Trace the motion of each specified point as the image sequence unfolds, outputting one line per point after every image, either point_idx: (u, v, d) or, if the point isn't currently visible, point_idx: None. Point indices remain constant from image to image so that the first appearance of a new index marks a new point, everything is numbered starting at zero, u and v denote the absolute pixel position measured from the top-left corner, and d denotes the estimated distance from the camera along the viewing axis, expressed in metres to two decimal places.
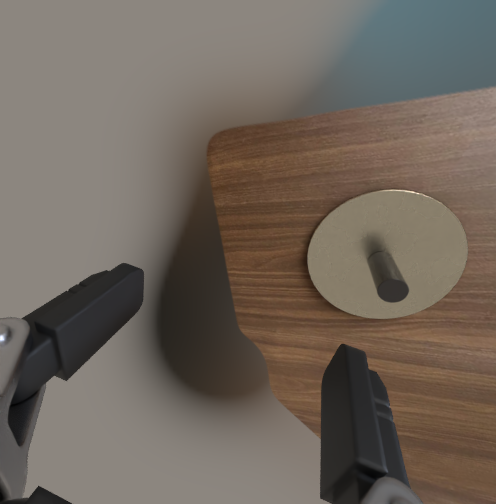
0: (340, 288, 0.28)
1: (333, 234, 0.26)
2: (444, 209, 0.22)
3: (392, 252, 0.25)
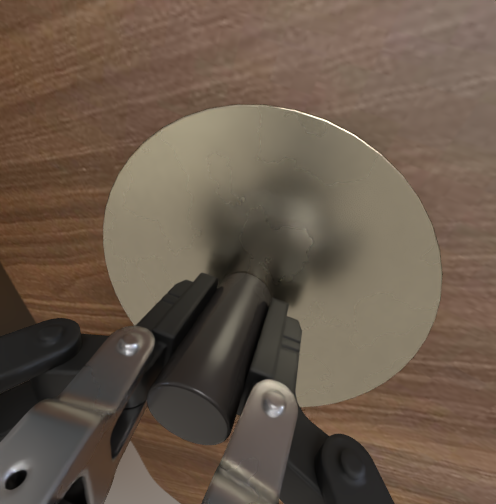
0: None
1: (137, 231, 0.11)
2: (370, 157, 0.08)
3: (264, 274, 0.10)
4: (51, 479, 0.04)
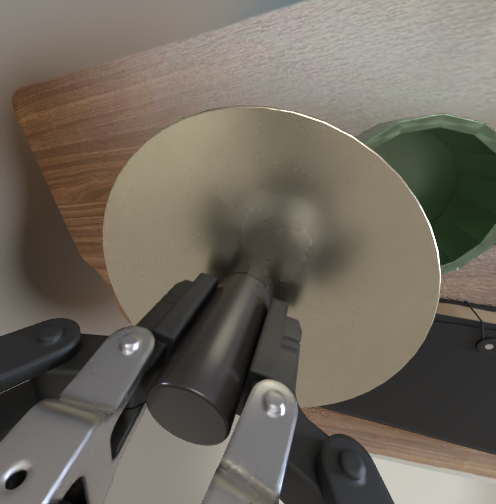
0: None
1: (137, 232, 0.11)
2: (368, 158, 0.08)
3: (263, 275, 0.11)
4: (51, 479, 0.04)
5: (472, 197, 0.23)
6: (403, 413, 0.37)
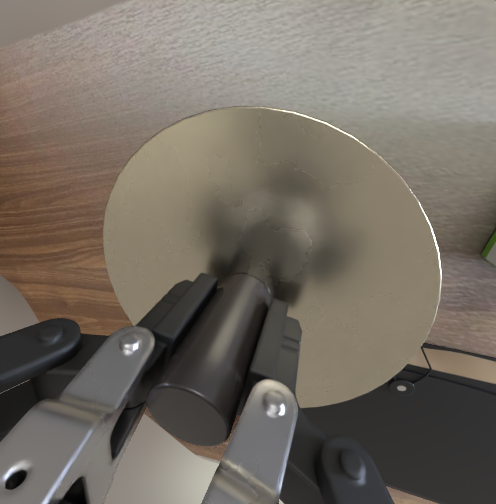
0: None
1: (137, 232, 0.11)
2: (369, 159, 0.08)
3: (264, 276, 0.11)
4: (51, 479, 0.04)
5: None
6: None
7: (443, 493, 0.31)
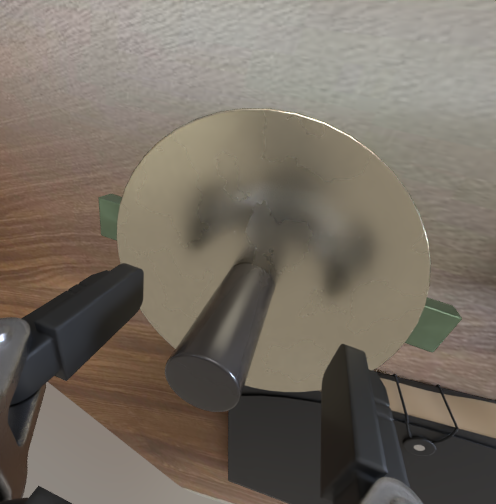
0: None
1: (150, 225, 0.12)
2: (364, 156, 0.09)
3: (268, 265, 0.11)
4: None
5: None
6: None
7: None
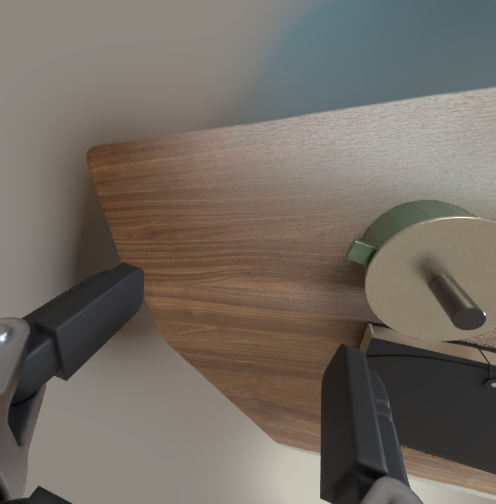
0: (397, 310, 0.29)
1: (396, 257, 0.26)
2: None
3: (456, 277, 0.25)
4: None
5: None
6: (417, 436, 0.43)
7: None
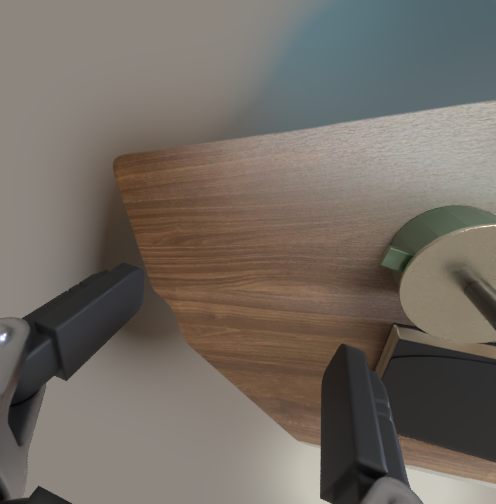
0: (431, 314, 0.29)
1: (432, 264, 0.27)
2: None
3: (492, 282, 0.26)
4: None
5: None
6: (441, 432, 0.44)
7: None
